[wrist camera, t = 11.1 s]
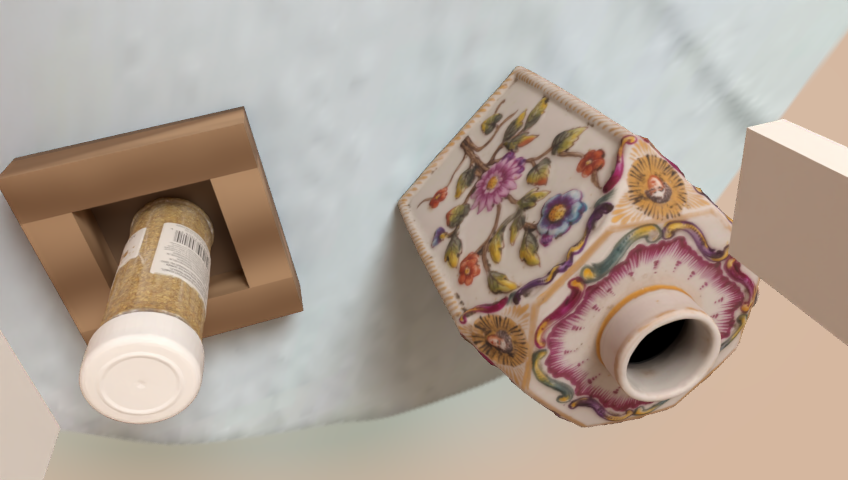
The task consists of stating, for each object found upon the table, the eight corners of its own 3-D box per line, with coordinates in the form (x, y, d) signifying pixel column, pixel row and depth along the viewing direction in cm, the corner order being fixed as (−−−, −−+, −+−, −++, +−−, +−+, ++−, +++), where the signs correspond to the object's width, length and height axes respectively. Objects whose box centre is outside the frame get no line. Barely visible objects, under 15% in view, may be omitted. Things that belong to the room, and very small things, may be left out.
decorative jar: (509, 293, 45) (645, 497, 30) (389, 205, 39) (479, 401, 24) (631, 168, 43) (848, 321, 27) (521, 55, 37) (715, 168, 22)
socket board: (14, 158, 33) (-5, 180, 30) (243, 106, 34) (243, 123, 32) (108, 335, 39) (99, 366, 36) (300, 284, 41) (303, 310, 38)
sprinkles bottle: (115, 212, 35) (50, 366, 24) (194, 183, 35) (167, 321, 24) (156, 276, 37) (115, 444, 26) (229, 248, 38) (221, 402, 26)
